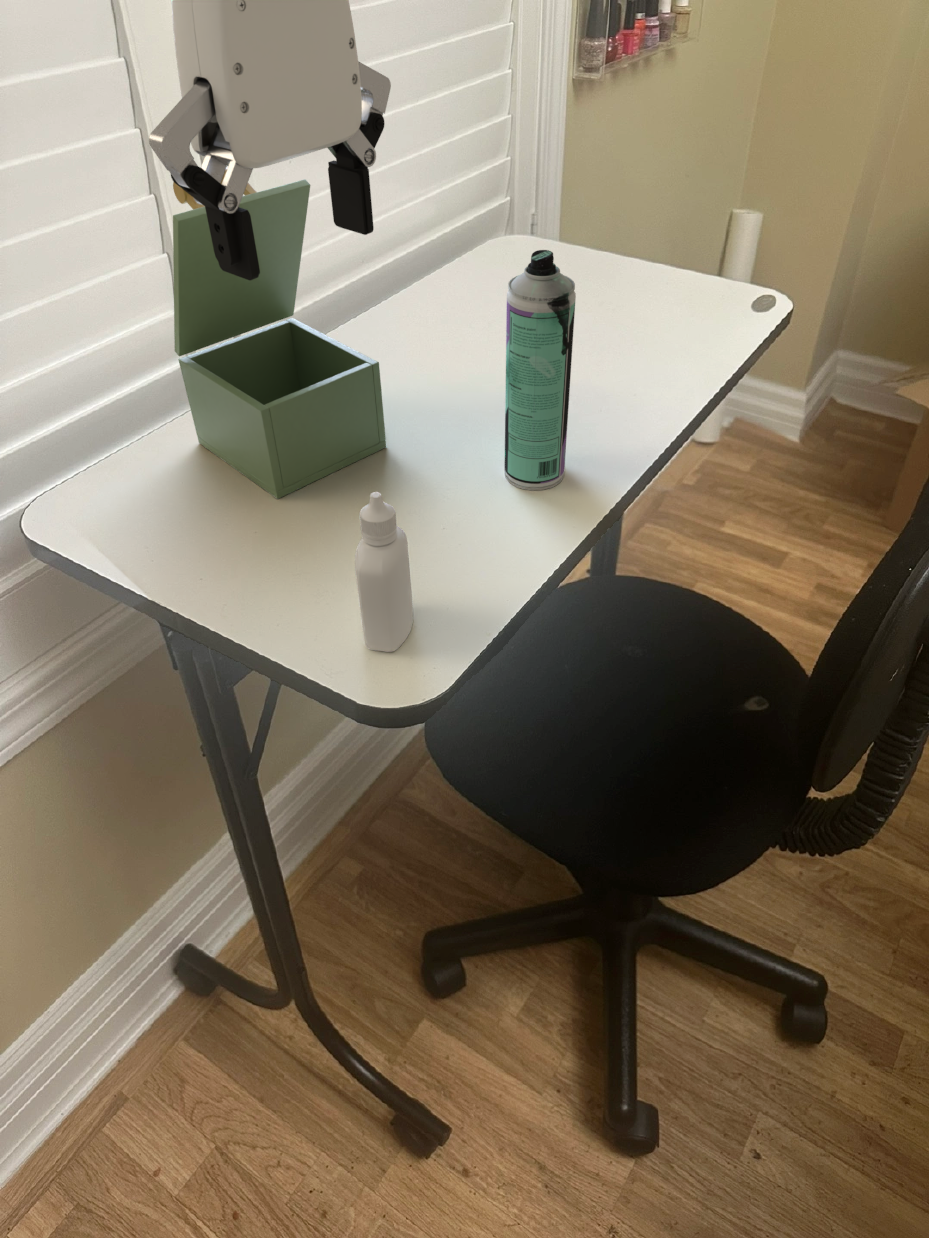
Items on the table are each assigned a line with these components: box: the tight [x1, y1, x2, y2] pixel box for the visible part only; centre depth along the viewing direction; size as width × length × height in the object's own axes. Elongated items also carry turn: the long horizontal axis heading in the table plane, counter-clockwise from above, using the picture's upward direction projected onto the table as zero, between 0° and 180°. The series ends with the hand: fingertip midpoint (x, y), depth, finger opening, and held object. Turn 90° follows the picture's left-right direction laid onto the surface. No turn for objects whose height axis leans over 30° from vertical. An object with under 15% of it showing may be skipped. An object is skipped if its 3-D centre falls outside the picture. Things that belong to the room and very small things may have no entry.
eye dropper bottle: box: [354, 491, 414, 653], centre depth 64 cm, size 4×6×12 cm
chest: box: [178, 317, 387, 500], centre depth 85 cm, size 14×13×9 cm
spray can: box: [504, 249, 577, 491], centre depth 76 cm, size 6×6×20 cm
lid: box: [172, 166, 311, 357], centre depth 80 cm, size 14×13×6 cm
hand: (299, 251), depth 58 cm, fingers open, 9 cm apart
